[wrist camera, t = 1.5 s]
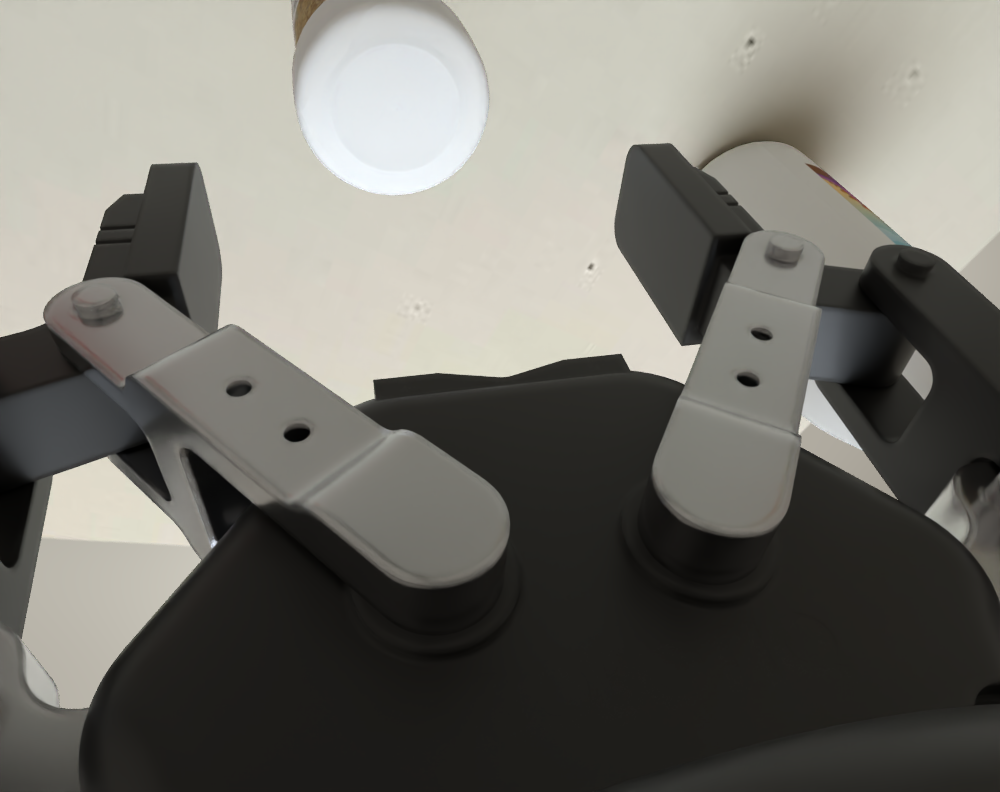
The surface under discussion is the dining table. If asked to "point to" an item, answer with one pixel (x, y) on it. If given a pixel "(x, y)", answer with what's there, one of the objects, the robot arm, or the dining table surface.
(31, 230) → the dining table surface
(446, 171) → the spice jar
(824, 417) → the milk bottle
